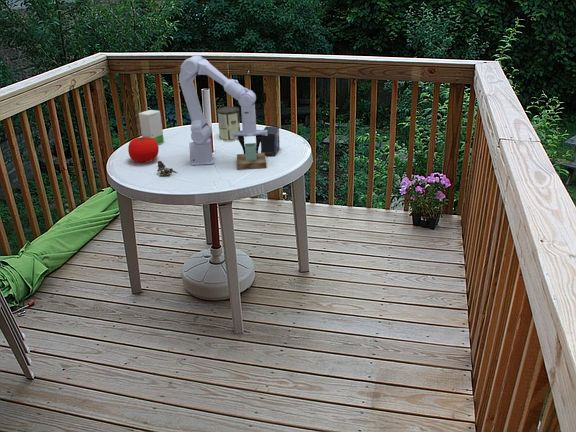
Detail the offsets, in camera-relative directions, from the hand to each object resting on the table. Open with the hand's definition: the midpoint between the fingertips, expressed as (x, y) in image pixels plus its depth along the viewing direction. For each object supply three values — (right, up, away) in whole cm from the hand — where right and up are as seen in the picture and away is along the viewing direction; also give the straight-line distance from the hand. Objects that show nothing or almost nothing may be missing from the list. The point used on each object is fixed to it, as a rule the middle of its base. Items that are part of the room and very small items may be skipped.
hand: (250, 152), depth 238 cm
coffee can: (-12, +11, +35) cm, 38 cm away
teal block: (0, -2, +1) cm, 2 cm away
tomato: (-47, -2, +10) cm, 48 cm away
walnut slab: (0, -4, +2) cm, 5 cm away
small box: (+8, +2, +15) cm, 17 cm away
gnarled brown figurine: (-34, -10, -5) cm, 36 cm away
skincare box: (-48, +7, +30) cm, 57 cm away
